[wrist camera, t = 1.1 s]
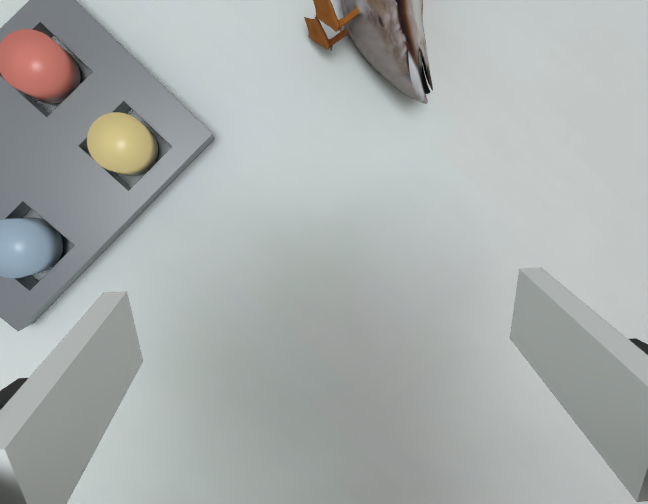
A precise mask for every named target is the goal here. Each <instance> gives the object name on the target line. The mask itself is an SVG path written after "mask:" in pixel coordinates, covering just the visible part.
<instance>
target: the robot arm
mask: <svg viewBox="0 0 648 504" xmlns="http://www.w3.org/2000/svg"><path fill="white" fill-rule="evenodd" d="M510 339H511V341H512V342H513V343H514V344H515V346H516V347H517V348H518V350H519V351H520V352H521V353H522V355H523V356H524V357H525V359H526V360H527V361H528V362H529V364H530V365H531V366H532V368H533V369H534V370H535V371H536V373H537V374H538V375H539V377H540V378H541V379H542V380H543V382H544V383H545V384H546V386H547V387H548V388H549V389H550V391H551V392H552V393H553V395H554V396H555V397H556V398H557V400H558V401H559V402H560V404H561V405H562V406H563V408H564V409H565V410H566V411H567V413H568V414H569V415H570V417H571V418H572V419H573V420H574V422H575V423H576V424H577V426H578V427H579V428H580V429H581V431H582V432H583V433H584V435H585V436H586V437H587V438H588V440H589V441H590V442H591V444H592V445H593V446H594V447H595V449H596V450H597V451H598V453H599V454H600V455H601V456H602V458H603V459H604V460H605V462H606V463H607V464H608V465H609V467H610V468H611V469H612V471H613V472H614V473H615V474H616V476H617V477H618V478H619V480H620V481H621V482H622V483H623V485H624V486H625V487H626V489H627V490H628V491H629V492H630V494H631V495H632V496H633V498H634V499H635V500H636V502H642V501H648V344H646V343H644V342H642V341H640V340H638V339H627V338H626V337H625V336H624V335H623V334H621V333H620V332H619V331H618V330H616V329H615V328H614V327H613V326H612V325H610V324H609V323H608V322H607V321H606V320H604V319H603V318H602V317H601V316H600V315H598V314H597V313H596V312H595V311H593V310H592V309H591V308H590V307H589V306H587V305H586V304H585V303H584V302H583V301H581V300H580V299H579V298H578V297H577V296H575V295H574V294H573V293H572V292H570V291H569V290H568V289H567V288H566V287H564V286H563V285H562V284H561V283H560V282H558V281H557V280H556V279H555V278H553V277H552V276H551V275H550V274H549V273H547V272H546V271H545V270H544V269H543V268H527V269H519V275H518V282H517V289H516V297H515V304H514V311H513V318H512V326H511V333H510ZM142 362H143V359H142V354H141V350H140V346H139V341H138V337H137V333H136V328H135V324H134V320H133V315H132V311H131V307H130V302H129V298H128V294H127V292H109V293H103V294H102V295H101V296H100V297H99V298H98V300H97V301H96V302H95V303H94V304H93V305H92V306H91V308H90V309H89V310H88V311H87V312H86V313H85V314H84V316H83V317H82V318H81V319H80V320H79V321H78V322H77V324H76V325H75V326H74V327H73V328H72V329H71V330H70V332H69V333H68V334H67V335H66V336H65V337H64V338H63V340H62V341H61V342H60V343H59V344H58V345H57V346H56V347H55V349H54V350H53V351H52V352H51V353H50V354H49V355H48V357H47V358H46V359H45V360H44V361H43V362H42V363H41V365H40V366H39V367H38V368H37V369H36V370H35V371H34V373H33V374H32V375H31V376H30V377H29V378H19V379H17V380H16V381H14V382H13V383H11V384H10V385H8V386H7V387H5V388H4V389H2V390H1V391H0V504H67V502H68V500H69V498H70V496H71V494H72V493H73V491H74V489H75V487H76V485H77V483H78V481H79V480H80V478H81V476H82V474H83V472H84V470H85V468H86V467H87V465H88V463H89V461H90V459H91V457H92V455H93V453H94V452H95V450H96V448H97V446H98V444H99V442H100V440H101V439H102V437H103V435H104V433H105V431H106V429H107V427H108V426H109V424H110V422H111V420H112V418H113V416H114V414H115V412H116V411H117V409H118V407H119V405H120V403H121V401H122V399H123V398H124V396H125V394H126V392H127V390H128V388H129V386H130V385H131V383H132V381H133V379H134V377H135V375H136V373H137V372H138V370H139V368H140V366H141V364H142Z"/></svg>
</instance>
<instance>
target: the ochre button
mask: <svg viewBox="0 0 648 504" xmlns="http://www.w3.org/2000/svg"><path fill="white" fill-rule="evenodd" d="M87 146H88V150H89V152H90V154H91V156H92V158H93V159H94V160H95V161H96V162H97V163H98V164H99V165H100V166H102V167H103V168H105V169H107V170H110V171H113V172H117V173H120V174H124V175H139V174H142V173H144V172H146V171H147V170H149V169H150V168H151V167H152V166H153V164H154V163H155V161H156V158H157V155H158V145H157V141H156V138H155V137H154V135H153V133H152V132H151V131H150V130H149V129H148V128H147V127H146V126H144V125H143V124H142V123H141V122H139V121H138V120H137V119H136V118H134V117H132V116H130V115H128V114H125V113H120V112H112V113H108V114H105V115H102V116H101V117H99V118H98V119H96V120H95V121H94V122H93V124H92V125H91V127H90V129H89V131H88V135H87Z"/></svg>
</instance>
